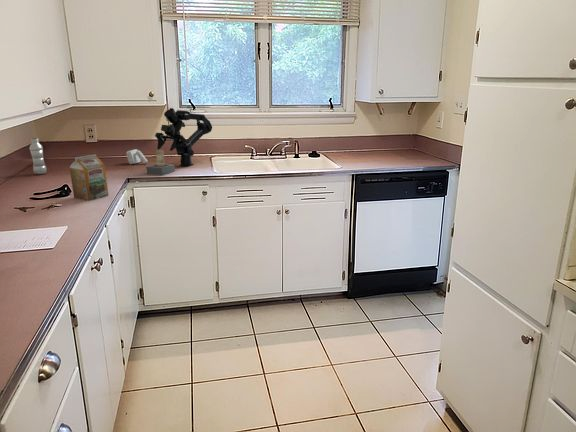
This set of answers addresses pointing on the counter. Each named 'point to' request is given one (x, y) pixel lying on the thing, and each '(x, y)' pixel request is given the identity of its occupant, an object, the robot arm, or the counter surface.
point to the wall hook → (135, 157)
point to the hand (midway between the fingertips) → (164, 149)
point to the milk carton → (88, 178)
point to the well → (160, 169)
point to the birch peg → (159, 158)
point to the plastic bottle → (37, 157)
